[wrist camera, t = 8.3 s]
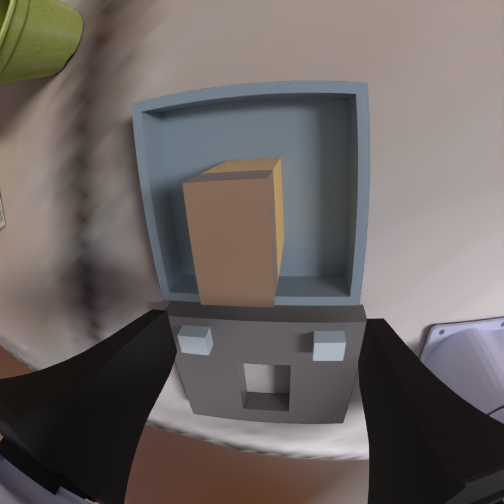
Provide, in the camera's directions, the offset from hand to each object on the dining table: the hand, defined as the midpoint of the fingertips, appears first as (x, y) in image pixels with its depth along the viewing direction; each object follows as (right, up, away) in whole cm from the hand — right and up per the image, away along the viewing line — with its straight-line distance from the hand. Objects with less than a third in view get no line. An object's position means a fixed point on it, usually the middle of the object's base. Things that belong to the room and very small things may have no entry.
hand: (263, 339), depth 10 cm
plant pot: (-16, +20, +4) cm, 26 cm away
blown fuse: (0, +6, +7) cm, 9 cm away
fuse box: (+1, -6, +13) cm, 14 cm away
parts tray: (0, +7, +7) cm, 10 cm away
